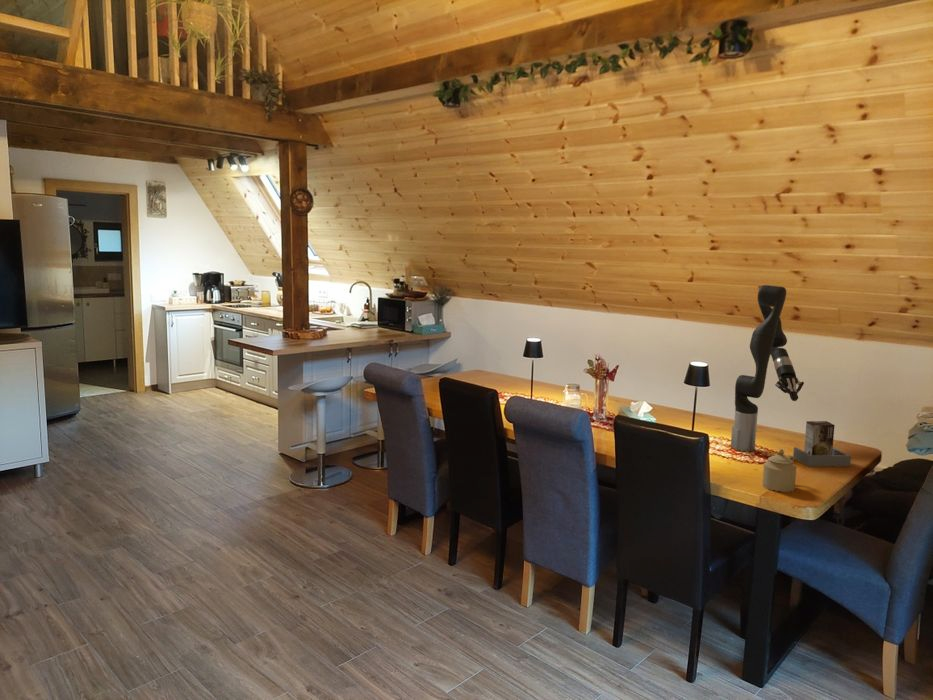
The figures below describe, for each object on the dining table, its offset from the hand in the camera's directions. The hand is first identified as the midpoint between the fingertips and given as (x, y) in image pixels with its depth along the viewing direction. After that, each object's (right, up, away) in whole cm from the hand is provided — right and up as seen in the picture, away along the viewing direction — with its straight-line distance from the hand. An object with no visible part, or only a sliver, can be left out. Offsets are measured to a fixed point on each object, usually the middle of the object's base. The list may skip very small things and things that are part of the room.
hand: (795, 400), depth 298 cm
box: (+2, -25, -18) cm, 31 cm away
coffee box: (+2, -25, -14) cm, 28 cm away
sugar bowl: (-30, -29, -47) cm, 63 cm away
